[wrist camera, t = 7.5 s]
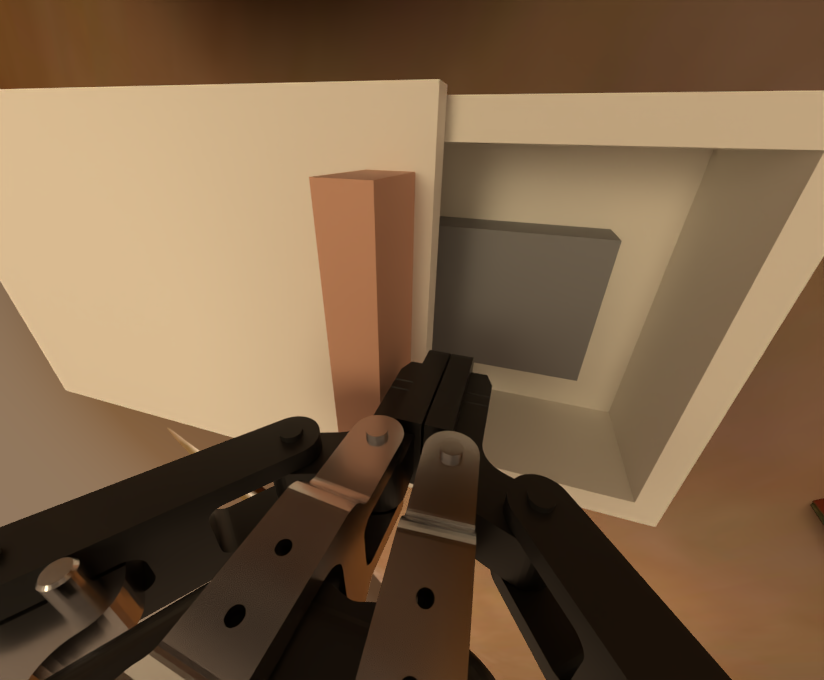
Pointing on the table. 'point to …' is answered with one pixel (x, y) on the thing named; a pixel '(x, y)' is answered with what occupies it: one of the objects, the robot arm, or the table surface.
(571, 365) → the box
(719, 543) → the table surface
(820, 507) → the carton
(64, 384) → the lid
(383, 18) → the table surface
